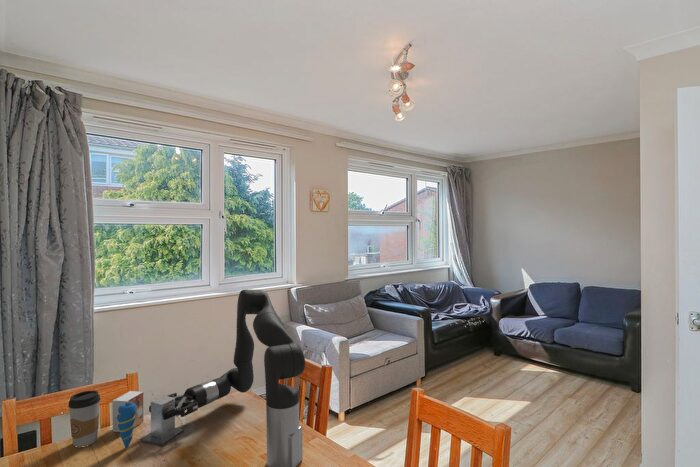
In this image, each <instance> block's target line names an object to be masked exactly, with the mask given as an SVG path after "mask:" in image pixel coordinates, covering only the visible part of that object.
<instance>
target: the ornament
mask: <svg viewBox="0 0 700 467" xmlns="http://www.w3.org/2000/svg"><path fill="white" fill-rule="evenodd" d="M118 412H119V414H118V416H117V420H118V422H119V424H118V427H119V429H120V432H119V437H120V438H121V441H122V443H123V446H124V448H125V449H128V448H129V446H130V444H131V442H132V439H133V436H134V434H133V433H134V421H135V418H136V417H135V413H136V405H135V404H134V403H132V402H129V401H126V403H124V404H122V405H120V406H119V408H118Z"/></svg>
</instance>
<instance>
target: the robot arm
mask: <svg viewBox="0 0 700 467" xmlns="http://www.w3.org/2000/svg"><path fill="white" fill-rule="evenodd" d="M236 308H237V310H236V338H235V339H236V340H235V348H234V354H233V364H234V365H235V367H234V368H230V369H229V370H228V371H226V372H225V373H223V374H222V375H221V376H220V377H217V378H215V379H211V380H208V381H205V382H201V383H198V384H196V385H193V386H191V387H188V388H186V390H185V392H184V393H183V394H179V395H178V394H177V392H174V393H171V394H168V395H167V396H169V397H172V398H175V408H174V409H171V410H169V411H166V412H164V413H163V419H164V420H166V419H169V418H171V417H174V416H175V417H179V416H180V417H181V418H183V417H186V416H188V415H190V414H192V413H194V412H197V411H198V410H199V409H201V408H202V407H205V406H207V405H209V404H212V403H214V402H215V401H217V400H220V399H222V398H224V397H227V396H228V395H229V394H230V392H231V390H232V388H233V389H234V390H236V391H238V392H240V393H244V394H245V393H247V392H248V391H249V390H250V389H251V388H252V386H253V385H254V384H253V383H254V378H255V377H254V365H253V358H254V350H255V341H254V338H253V336H252V334H251V331H250V330H249V328H248V325H247V321H246V318H247V315H255V317H254V318H253V322H252V327H253V328H252V329H253V331H254V334H255V336H256V338H257V341H259V342H260V343H261V344H262V345H264V346H266V347H267V348H266V349H265V351H264V356H263V358H264V359H263V362H264V363H263V364H264V377H265V378H264V380H265V398H266V399H265V400H266V402H265V404H266V405H265V407H266V410H265V411H266V413H265V414H266V420H265V423H266V465H267V467H298V465H299V464H300V463H301V461H302V460H303V454H304V453H303V452H304V451H303V426H301V425H300V393H299V390H298V389H297V388H296V387H293V386H290V385H286V384H283V383H279V380H285V379H290V378H291V379H292V378H296V377H298V376H300V375H302V374H303V373H304V372H305V369H306V358H305V355H304V354H305V353H304V352H303V350H302V348H301V346H300V345H299V343H298V342H297V341H296V340H295V339H294V338H293V336H292V335H291V334H290V333H289V331H288V330H287V329H286V327H285V326H284V323H283V321H282V319H281V317H280V316H279V315H278V314H277V312H276V310H275V308H274V305H273V304H272V301H271V299H270V296H269V294H268V292H267V291H265V290H262V289H242V290H240V291H239V295H238V298H237V305H236ZM148 412H149V413H151V404H150V405H149V406H148Z"/></svg>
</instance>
